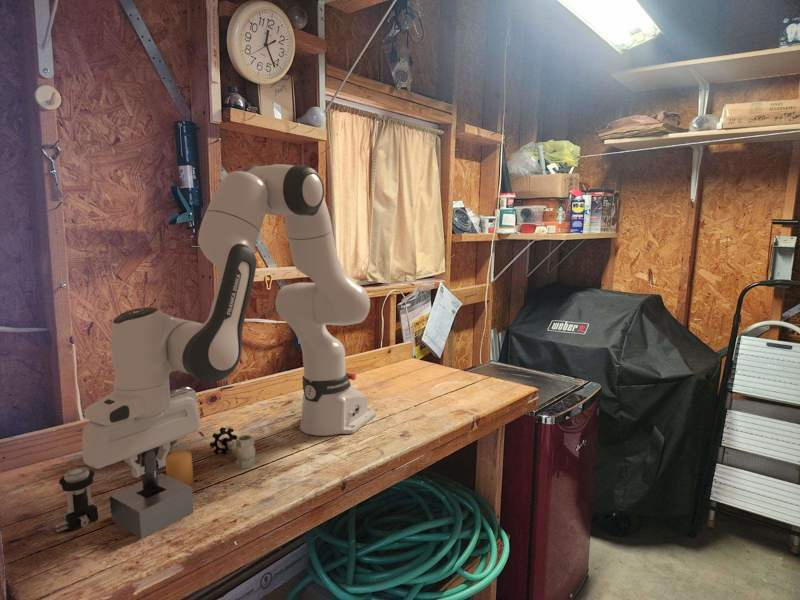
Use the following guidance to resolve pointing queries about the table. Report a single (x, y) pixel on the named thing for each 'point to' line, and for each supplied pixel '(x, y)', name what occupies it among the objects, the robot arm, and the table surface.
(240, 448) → the valve
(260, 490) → the table surface
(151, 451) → the cylinder
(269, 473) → the table surface
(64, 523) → the push button
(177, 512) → the bore block
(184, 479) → the orange rounded tapered piece
